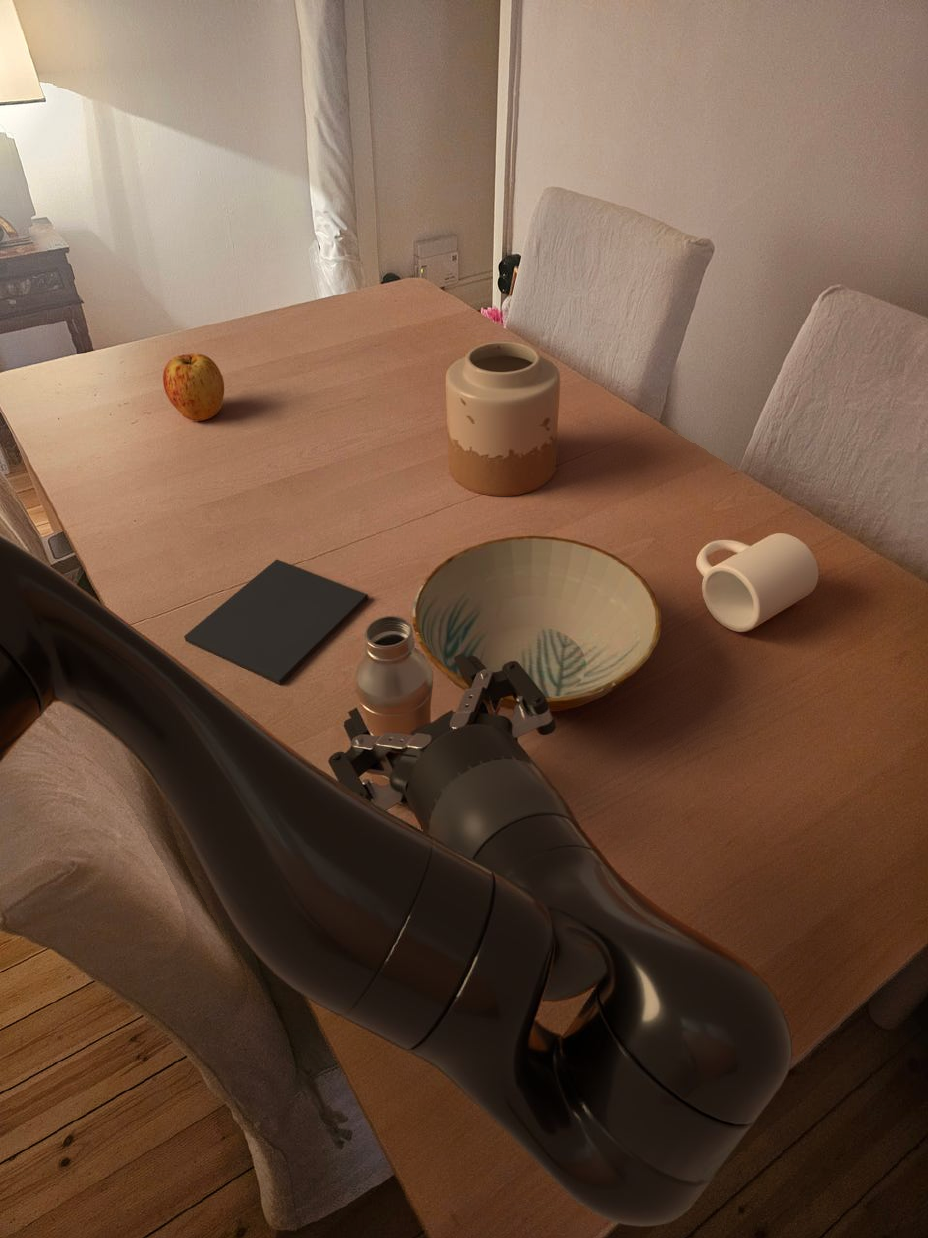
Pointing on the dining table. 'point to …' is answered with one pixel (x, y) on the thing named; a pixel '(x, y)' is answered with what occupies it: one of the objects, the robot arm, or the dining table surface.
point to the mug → (756, 579)
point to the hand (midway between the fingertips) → (409, 691)
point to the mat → (277, 620)
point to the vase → (502, 419)
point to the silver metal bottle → (393, 681)
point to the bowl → (540, 616)
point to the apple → (194, 386)
